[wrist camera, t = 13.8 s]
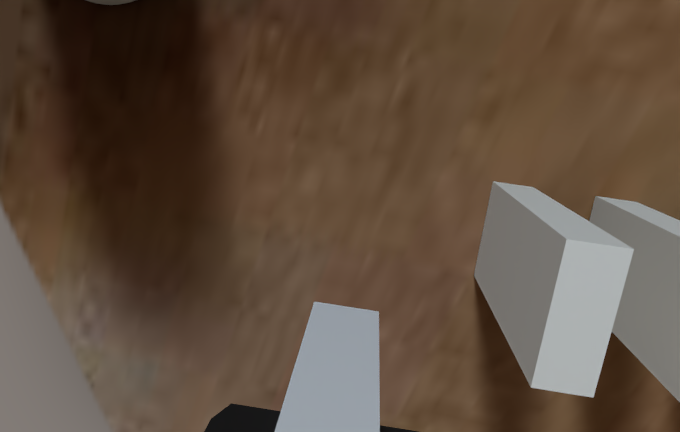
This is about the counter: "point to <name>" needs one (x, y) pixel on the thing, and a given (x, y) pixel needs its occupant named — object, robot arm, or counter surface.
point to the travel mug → (110, 1)
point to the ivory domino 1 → (551, 286)
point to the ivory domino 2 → (647, 285)
